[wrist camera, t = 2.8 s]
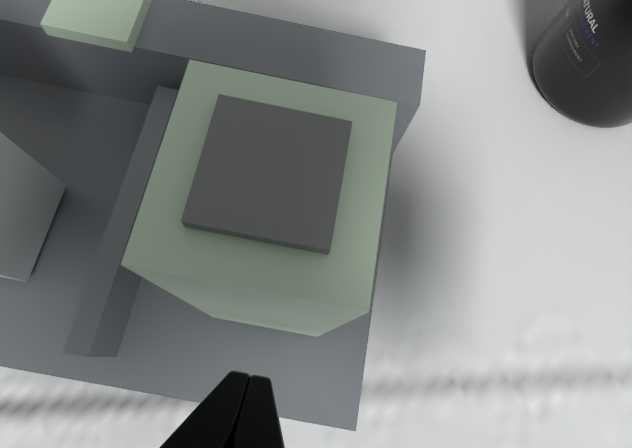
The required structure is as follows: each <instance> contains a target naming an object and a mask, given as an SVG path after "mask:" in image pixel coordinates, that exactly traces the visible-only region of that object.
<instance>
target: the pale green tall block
mask: <svg viewBox="0 0 632 448" xmlns="http://www.w3.org/2000/svg"><path fill="white" fill-rule="evenodd" d="M396 107H397V102H394V101H389V100H384V99H379V98H375V97H370V96H365V95H360V94H355V93H350V92H345V91H340V90H336V89H331V88H326V87H321V86H316V85H311V84H306V83H302V82H297V81H292V80H287V79H282V78H277V77H272V76H268V75H263V74H258V73H253V72H248V71H243V70H238V69H233V68H229V67H224V66H219V65H214V64H209V63H204V62H199V61H195V60H189V63H188V66H187V69H186V72H185V75H184V77H183V80H182V83H181V86H180V89H179V92H178V95H177V98H176V101H175V104H174V107H173V110H172V113H171V116H170V119H169V122H168V125H167V128H166V131H165V134H164V137H163V140H162V143H161V146H160V149H159V152H158V155H157V158H156V161H155V164H154V167H153V170H152V173H151V176H150V179H149V182H148V185H147V188H146V191H145V194H144V197H143V200H142V203H141V206H140V209H139V212H138V215H137V218H136V221H135V223H134V226H133V229H132V232H131V235H130V238H129V241H128V244H127V247H126V250H125V253H124V256H123V259H122V262H121V265H122V266H124V267H125V268H127V269H129V270H131V271H133V272H134V273H136V274H138V275H140V276H141V277H143V278H145V279H147V280H148V281H150V282H152V283H154V284H155V285H157V286H159V287H161V288H162V289H164V290H166V291H168V292H169V293H171V294H173V295H175V296H176V297H178V298H180V299H182V300H183V301H185V302H187V303H189V304H190V305H192V306H194V307H196V308H197V309H199V310H201V311H203V312H204V313H206V314H208V315H210V316H212V317H214V318H219V319H225V320H230V321H235V322H241V323H246V324H251V325H256V326H262V327H267V328H272V329H278V330H283V331H288V332H293V333H299V334H304V335H309V336H315V337H318V336H320V335H322V334H324V333H326V332H328V331H331V330H333V329H335V328H337V327H339V326H341V325H343V324H345V323H347V322H349V321H352V320H354V319H356V318H358V317H360V316H362V315H364V314H366V313H368V312H369V308H370V301H371V294H372V286H373V279H374V271H375V264H376V256H377V249H378V241H379V234H380V226H381V219H382V212H383V204H384V197H385V189H386V182H387V174H388V167H389V159H390V152H391V145H392V137H393V130H394V122H395V115H396Z"/></svg>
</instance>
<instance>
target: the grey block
mask: <svg viewBox="0 0 632 448" xmlns="http://www.w3.org/2000/svg"><path fill="white" fill-rule="evenodd" d="M65 187H66V184H64V183H63V182H62V181H61V180H59V179H58V178H57V177H56V176H54V175H53V174H52V173H51V172H49V171H48V170H47V169H46V168H44V167H43V166H42V165H41V164H39V163H38V162H37V161H36V160H34V159H33V158H32V157H31V156H29V155H28V154H27V153H26V152H24V151H23V150H22V149H21V148H19V147H18V146H17V145H16V144H14V143H13V142H12V141H11V140H9V139H8V138H7V137H6V136H4V135H3V134H2V133H1V132H0V277H3V278H8V279H13V280H19V281H24V282H27V281H28V279H29V276H30V274H31V271H32V269H33V267H34V264H35V262H36V259H37V257H38V254H39V252H40V249H41V247H42V244H43V242H44V239H45V237H46V234H47V232H48V229H49V227H50V224H51V222H52V219H53V217H54V215H55V212H56V210H57V207H58V205H59V202H60V200H61V197H62V195H63V192H64V190H65Z"/></svg>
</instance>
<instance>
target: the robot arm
mask: <svg viewBox="0 0 632 448" xmlns="http://www.w3.org/2000/svg"><path fill="white" fill-rule="evenodd" d="M160 448H285V447H284V442H283V437H282V432H281V427H280V422H279V417H278V412H277V407H276V402H275V397H274V392H273V387H272V382H271V379H270V378H269V377H265V376H260V375H255V374H254V375H252V376H251V377H250V375H249V374H248V373H245V372H240V371H235V370H233V371H230V372H229V373H228V374H227V375H226V376H225V377H224V378H223V379H222V380H221V382H220V383H219V384H218V385H217V386H216V387H215V388H214V389H213V390H212V391H211V392H210V393H209V395H208V396H207V397H206V398H205V399H204V400H203V401H202V402H201V403H200V404H199V405H198V407H197V408H196V409H195V410H194V411H193V412H192V413H191V414H190V415H189V416H188V417H187V418H186V420H185V421H184V422H183V423H182V424H181V425H180V426H179V427H178V428H177V429H176V430H175V432H174V433H173V434H172V435H171V436H170V437H169V438H168V439H167V440H166V441H165V442H164V443H163V445H162V446H161V447H160Z"/></svg>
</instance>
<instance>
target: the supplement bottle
mask: <svg viewBox="0 0 632 448" xmlns="http://www.w3.org/2000/svg"><path fill="white" fill-rule="evenodd" d="M532 68H533V74H534V78H535V81H536V84H537V86H538V88H539V90H540V91H541V93H542V95H543V96H544V97H545V99H546V100H547V101H548V102H549V103H550V104H551V105H552V106H553V107H554V108H555V109H556V110H557V111H559V112H560V113H561V114H563V115H564V116H566V117H568V118H569V119H571V120H573V121H576V122H578V123H581V124H584V125H587V126H592V127H599V128H613V127H619V126H623V125H627V124H629V123H632V0H569V2H568V3H567V4H566V5H565V6H564V8H563V9H562V10H561V11H560V12H559V14H558V15H557V16H556V17H555V18H554V20H553V21H552V22H551V23H550V25H549V26H548V27H547V28H546V30H545V31H544V32H543V33H542V35H541V36H540V38H539V39H538V41H537V43H536V45H535V48H534V52H533V57H532Z"/></svg>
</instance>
